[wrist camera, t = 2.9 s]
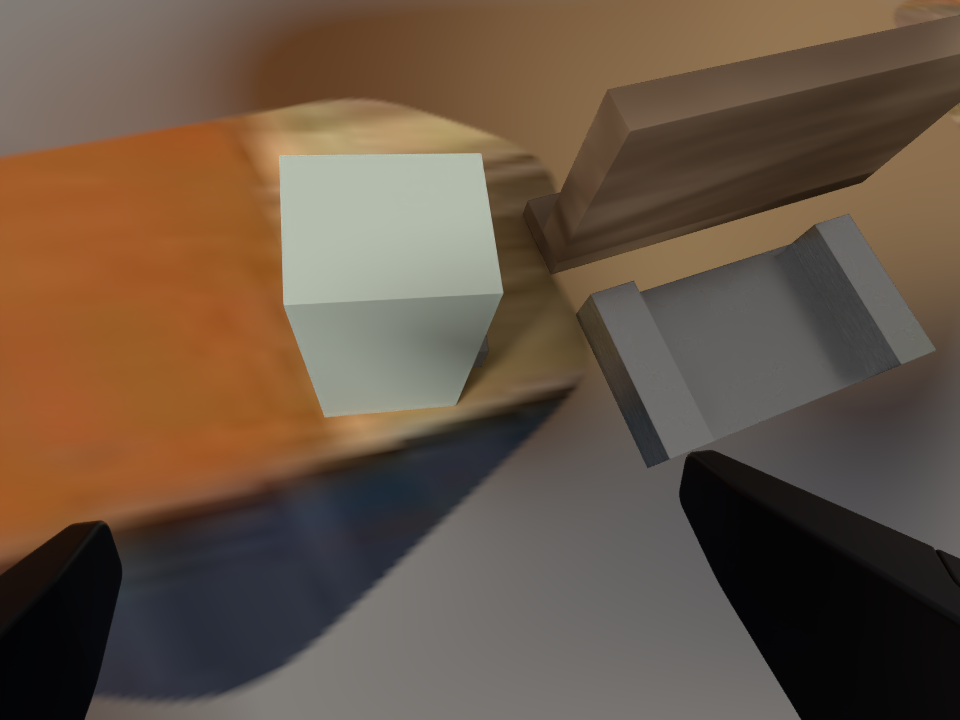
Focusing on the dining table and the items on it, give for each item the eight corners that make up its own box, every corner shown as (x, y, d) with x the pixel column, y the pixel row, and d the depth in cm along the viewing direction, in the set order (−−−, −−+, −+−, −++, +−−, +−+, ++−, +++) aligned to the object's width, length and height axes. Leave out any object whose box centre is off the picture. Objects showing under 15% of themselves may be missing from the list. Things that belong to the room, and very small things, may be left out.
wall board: (861, 182, 31) (1041, 34, 22) (551, 274, 26) (630, 131, 18) (829, 133, 31) (990, -27, 23) (523, 213, 27) (585, 49, 18)
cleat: (898, 365, 27) (936, 350, 25) (647, 468, 24) (670, 459, 22) (819, 237, 29) (849, 213, 27) (575, 314, 26) (590, 294, 24)
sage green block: (475, 403, 24) (535, 291, 14) (324, 417, 22) (283, 305, 13) (463, 311, 25) (511, 152, 16) (320, 320, 24) (279, 155, 14)
